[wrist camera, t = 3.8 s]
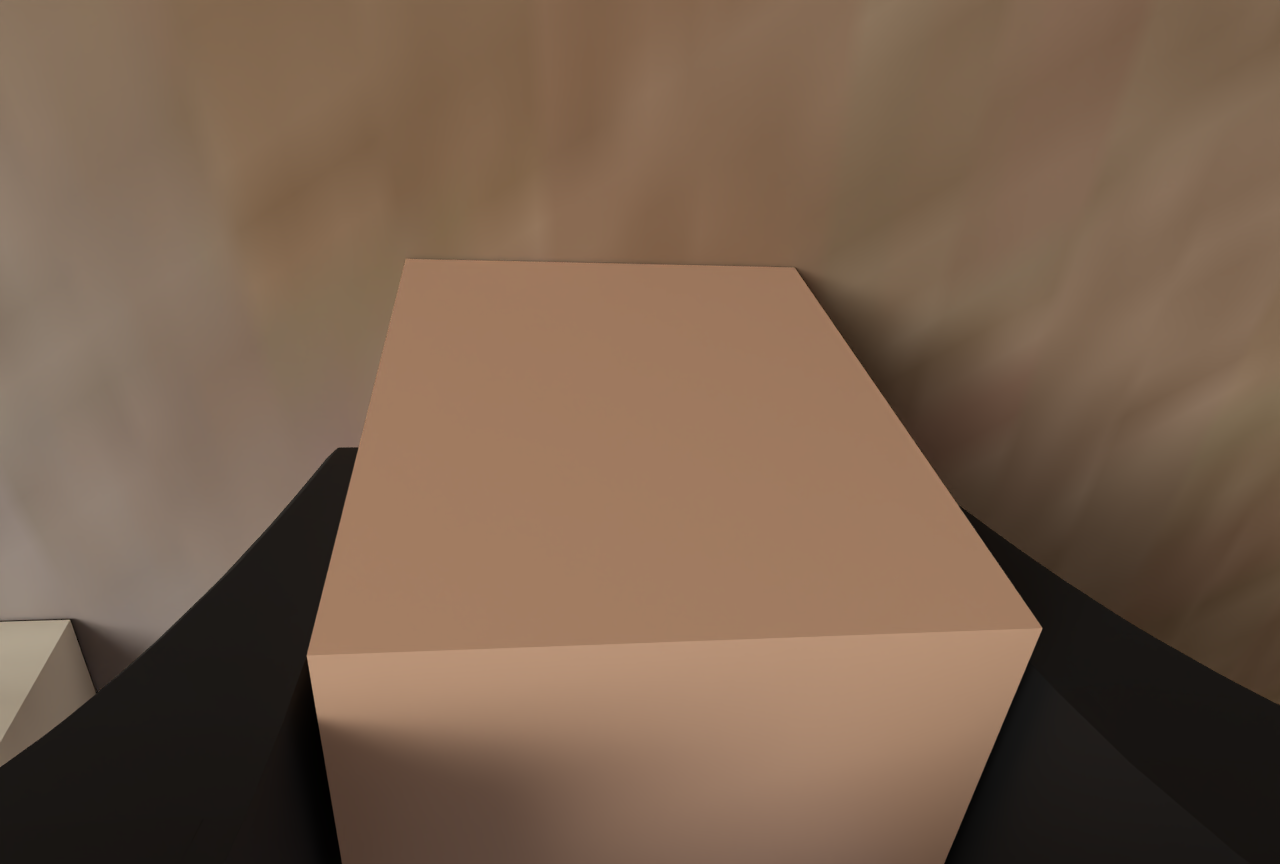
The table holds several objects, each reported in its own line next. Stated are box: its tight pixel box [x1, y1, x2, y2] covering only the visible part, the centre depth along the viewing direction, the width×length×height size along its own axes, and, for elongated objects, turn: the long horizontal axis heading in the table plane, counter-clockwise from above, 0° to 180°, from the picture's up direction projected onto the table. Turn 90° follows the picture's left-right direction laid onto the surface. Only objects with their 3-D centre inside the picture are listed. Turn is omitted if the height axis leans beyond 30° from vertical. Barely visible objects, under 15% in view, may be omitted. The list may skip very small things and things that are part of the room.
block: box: [307, 259, 1043, 864], centre depth 9 cm, size 4×4×6 cm
